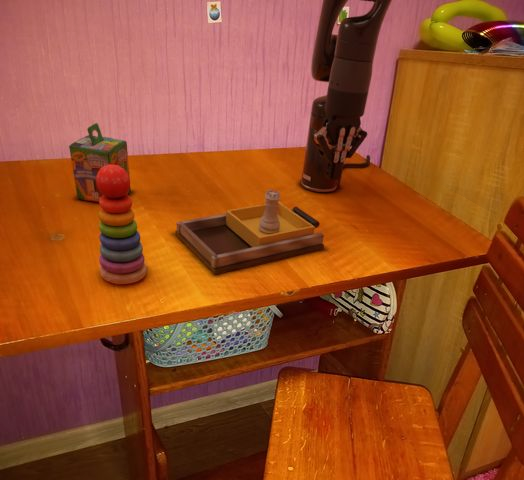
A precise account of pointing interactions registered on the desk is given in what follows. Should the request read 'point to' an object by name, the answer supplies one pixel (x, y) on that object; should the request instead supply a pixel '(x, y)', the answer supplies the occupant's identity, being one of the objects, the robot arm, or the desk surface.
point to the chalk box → (95, 161)
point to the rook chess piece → (270, 213)
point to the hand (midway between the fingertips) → (332, 179)
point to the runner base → (237, 245)
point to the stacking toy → (118, 229)
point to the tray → (290, 226)
